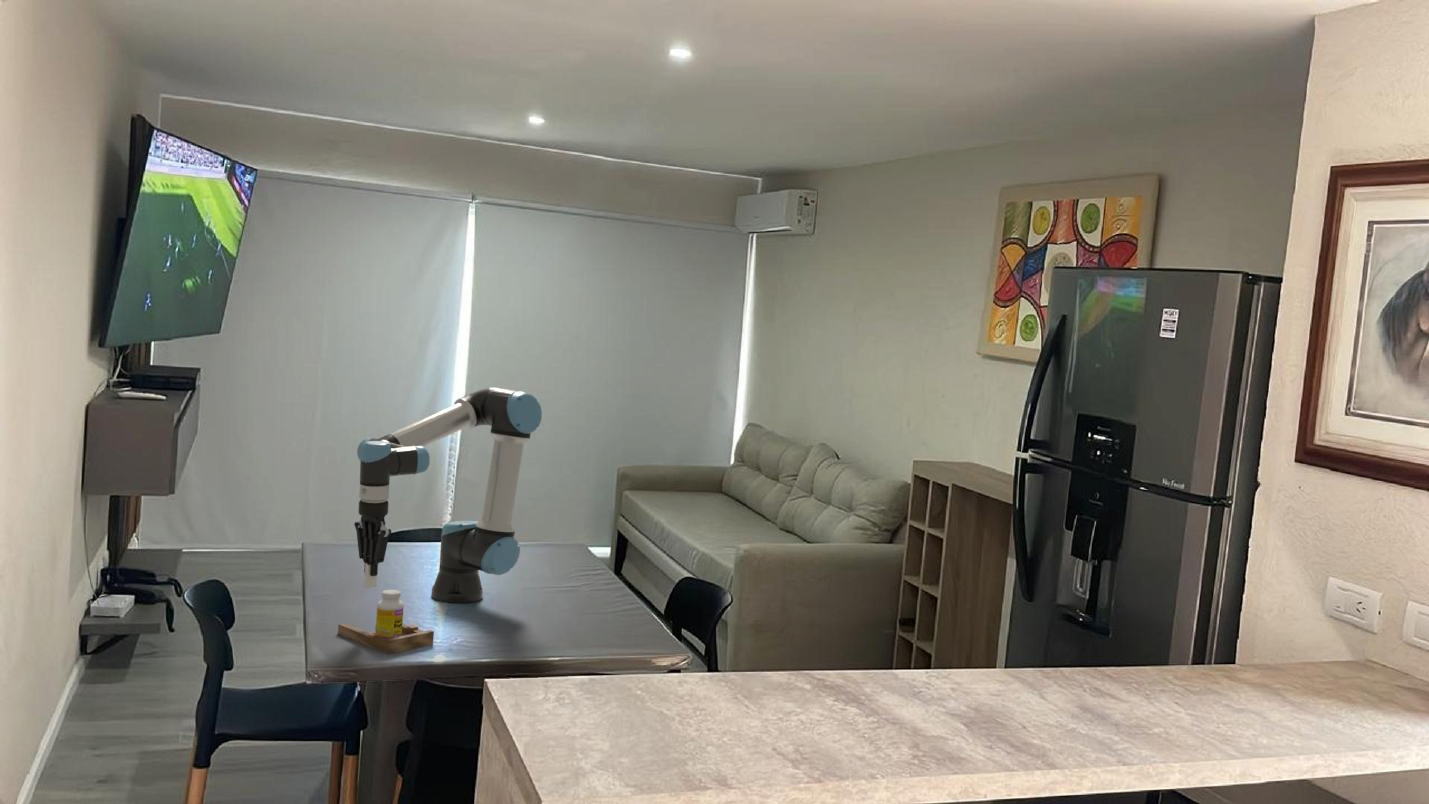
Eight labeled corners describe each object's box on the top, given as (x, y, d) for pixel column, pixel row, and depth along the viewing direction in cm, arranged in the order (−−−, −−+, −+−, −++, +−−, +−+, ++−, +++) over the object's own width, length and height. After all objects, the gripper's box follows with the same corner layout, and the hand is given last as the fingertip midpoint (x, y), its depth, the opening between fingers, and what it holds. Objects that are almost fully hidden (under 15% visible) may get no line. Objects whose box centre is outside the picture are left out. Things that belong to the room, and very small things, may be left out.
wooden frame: (382, 624, 310) (383, 612, 310) (433, 644, 297) (434, 631, 297) (337, 633, 298) (338, 620, 298) (387, 654, 286) (388, 641, 285)
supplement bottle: (394, 645, 293) (397, 596, 292) (370, 641, 294) (373, 593, 293) (405, 638, 300) (408, 590, 299) (382, 635, 301) (385, 587, 300)
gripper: (346, 497, 301) (343, 583, 303) (376, 506, 293) (373, 594, 296) (370, 494, 307) (367, 579, 309) (401, 502, 299) (397, 589, 302)
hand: (370, 586), depth 303 cm, fingers closed
